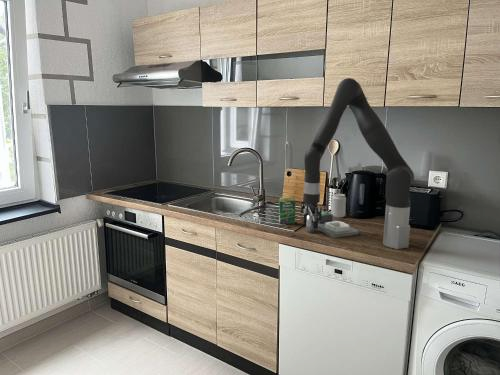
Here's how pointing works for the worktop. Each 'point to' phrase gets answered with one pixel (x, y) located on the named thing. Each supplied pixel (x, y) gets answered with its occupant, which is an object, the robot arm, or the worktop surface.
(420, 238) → the worktop surface
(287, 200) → the coffee box
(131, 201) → the worktop surface
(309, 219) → the billet
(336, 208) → the can
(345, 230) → the pallet
